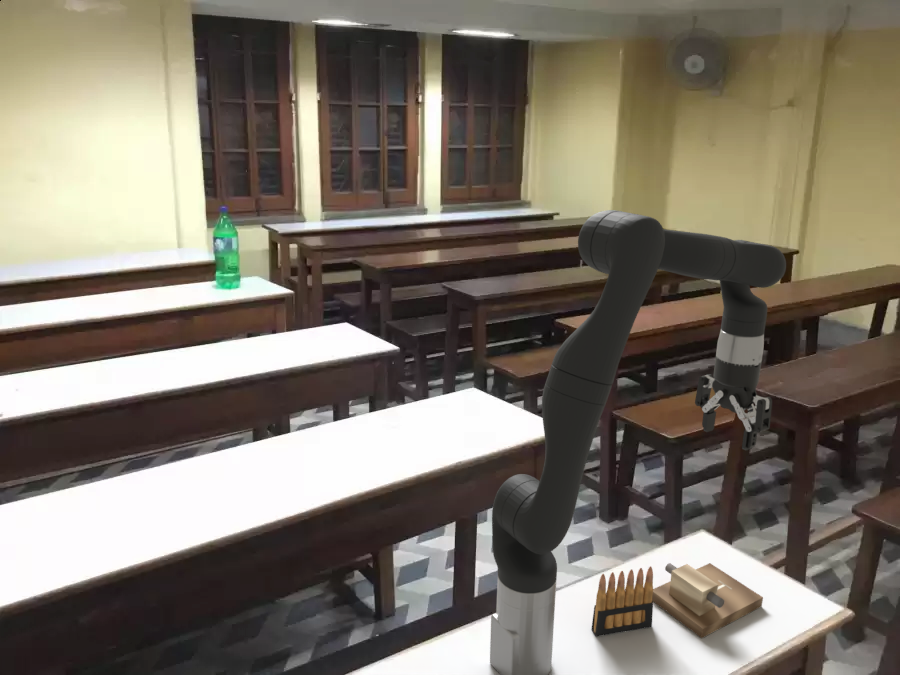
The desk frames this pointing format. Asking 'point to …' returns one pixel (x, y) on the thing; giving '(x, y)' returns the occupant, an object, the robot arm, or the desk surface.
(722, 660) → the desk surface
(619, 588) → the ammunition clip
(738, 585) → the walnut board
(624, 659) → the desk surface
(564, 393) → the robot arm
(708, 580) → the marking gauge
